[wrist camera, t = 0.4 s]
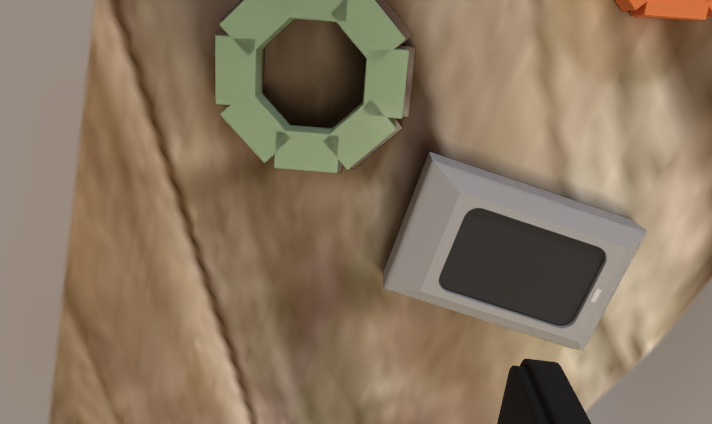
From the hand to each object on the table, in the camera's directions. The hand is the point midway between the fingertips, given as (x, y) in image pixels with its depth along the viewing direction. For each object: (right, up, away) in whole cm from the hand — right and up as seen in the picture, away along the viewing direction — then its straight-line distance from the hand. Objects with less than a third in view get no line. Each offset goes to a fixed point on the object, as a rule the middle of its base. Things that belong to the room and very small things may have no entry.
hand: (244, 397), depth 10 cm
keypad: (+13, +1, +30) cm, 33 cm away
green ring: (-1, +12, +25) cm, 27 cm away
